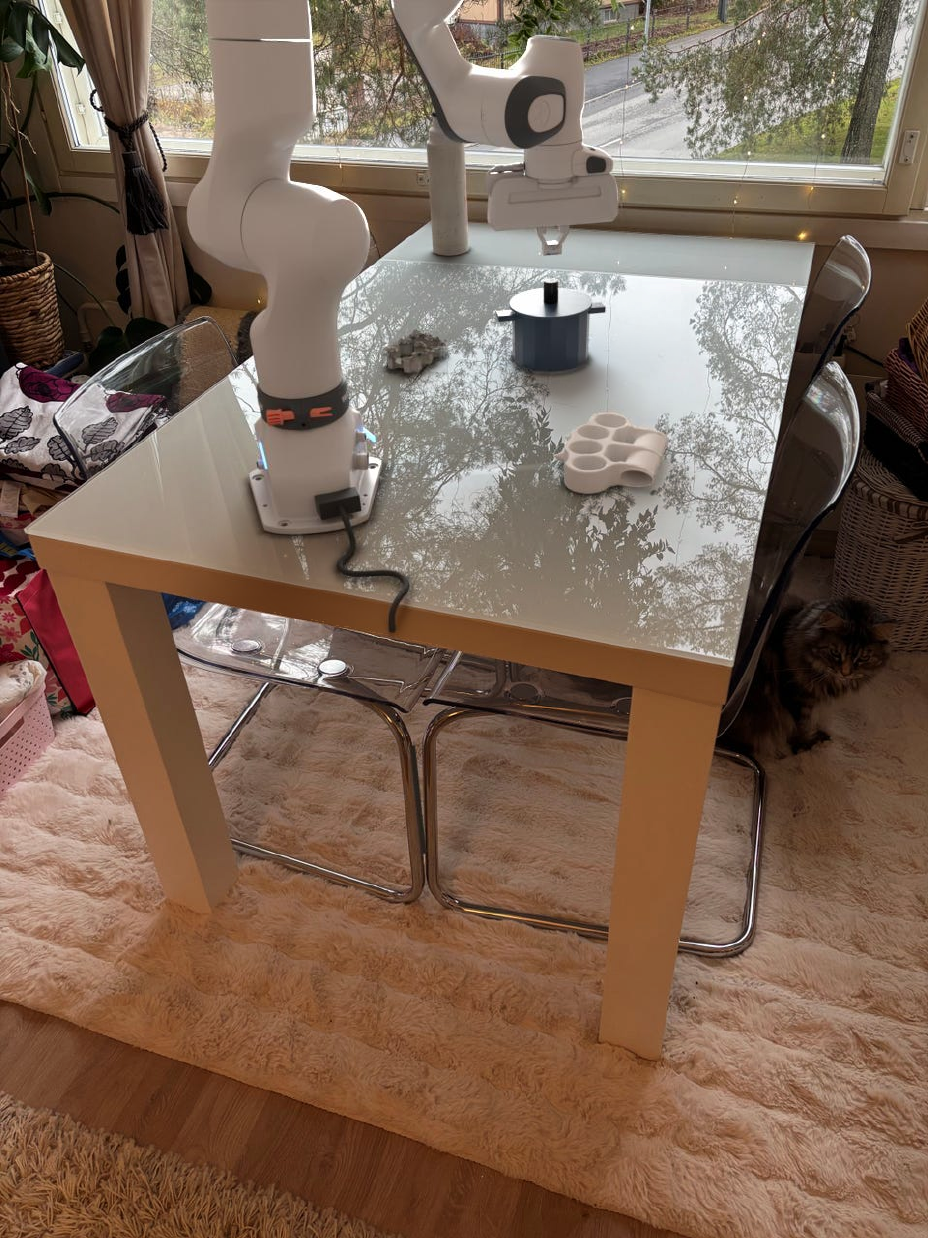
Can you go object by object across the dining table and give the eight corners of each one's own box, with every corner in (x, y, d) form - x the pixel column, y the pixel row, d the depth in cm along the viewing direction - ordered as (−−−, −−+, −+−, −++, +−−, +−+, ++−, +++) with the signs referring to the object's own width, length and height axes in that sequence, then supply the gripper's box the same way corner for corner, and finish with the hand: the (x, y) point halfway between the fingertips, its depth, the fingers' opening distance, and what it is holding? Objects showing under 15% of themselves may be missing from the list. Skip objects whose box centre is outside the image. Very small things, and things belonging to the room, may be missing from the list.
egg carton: (413, 378, 156) (411, 355, 154) (379, 369, 160) (376, 346, 157) (451, 355, 163) (450, 333, 160) (417, 347, 166) (415, 325, 164)
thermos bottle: (468, 243, 212) (463, 105, 194) (468, 254, 206) (462, 112, 188) (433, 245, 212) (425, 107, 195) (432, 256, 206) (423, 114, 188)
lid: (600, 319, 149) (601, 290, 146) (517, 327, 148) (516, 298, 146) (581, 290, 160) (582, 263, 157) (503, 297, 159) (503, 270, 156)
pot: (610, 369, 155) (613, 313, 149) (504, 379, 154) (503, 323, 148) (593, 340, 165) (595, 287, 159) (492, 349, 164) (491, 296, 158)
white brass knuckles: (647, 503, 122) (540, 487, 127) (671, 440, 135) (573, 428, 140) (649, 481, 120) (540, 466, 124) (673, 419, 133) (574, 407, 137)
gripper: (487, 170, 137) (490, 265, 146) (623, 159, 138) (618, 254, 147) (481, 160, 142) (484, 253, 150) (613, 149, 143) (608, 242, 152)
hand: (551, 253), depth 149 cm, fingers closed
